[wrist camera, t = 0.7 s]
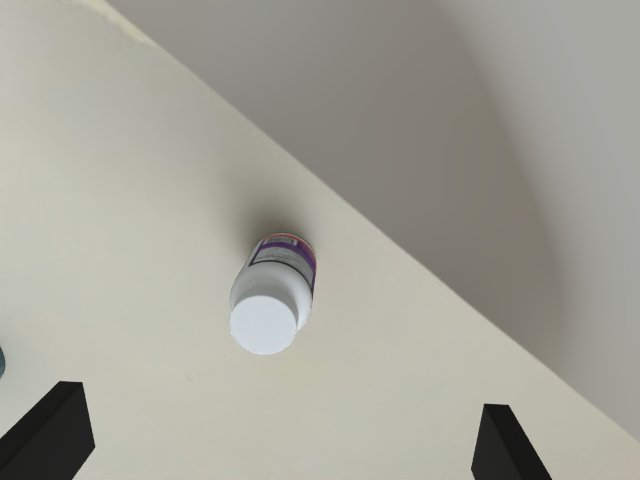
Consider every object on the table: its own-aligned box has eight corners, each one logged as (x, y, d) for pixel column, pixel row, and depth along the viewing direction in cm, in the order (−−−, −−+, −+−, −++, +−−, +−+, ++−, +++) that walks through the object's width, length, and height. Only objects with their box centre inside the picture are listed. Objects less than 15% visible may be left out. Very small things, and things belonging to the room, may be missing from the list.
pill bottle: (286, 304, 33) (266, 380, 24) (238, 262, 32) (197, 326, 22) (331, 262, 31) (328, 326, 22) (282, 217, 30) (257, 265, 21)
